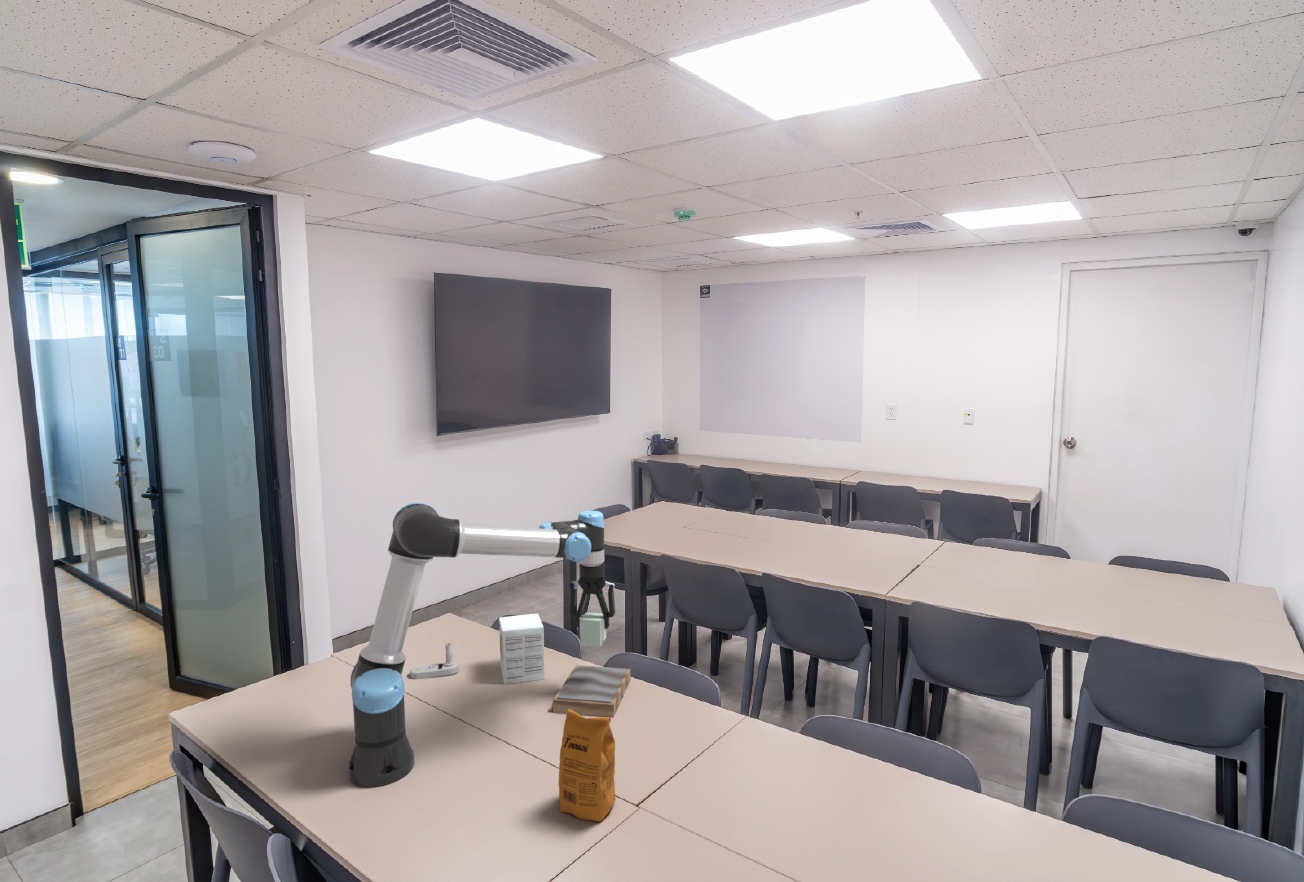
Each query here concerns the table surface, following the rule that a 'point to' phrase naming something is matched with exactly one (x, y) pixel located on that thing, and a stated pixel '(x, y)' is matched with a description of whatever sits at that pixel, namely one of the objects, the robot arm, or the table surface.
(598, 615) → the sage block
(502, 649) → the supplement box
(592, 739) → the coffee package
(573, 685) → the base
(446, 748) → the table surface
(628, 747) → the table surface
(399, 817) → the table surface
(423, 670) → the electronic device
